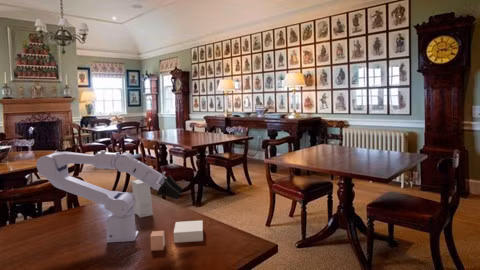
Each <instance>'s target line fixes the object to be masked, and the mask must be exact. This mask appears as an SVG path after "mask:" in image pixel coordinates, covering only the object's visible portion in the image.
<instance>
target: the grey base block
mask: <svg viewBox="0 0 480 270" xmlns="http://www.w3.org/2000/svg"><path fill="white" fill-rule="evenodd" d="M203 223H204V222H203V220H187V221H185V220H184V221H175V224H174V229H173V243H174V244H175V243H176V244H178V243H188V242H190V243H191V242H203V241H204V231H203V230H204V227H203V225H204V224H203Z"/></svg>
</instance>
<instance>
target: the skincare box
mask: <svg viewBox="0 0 480 270" xmlns="http://www.w3.org/2000/svg"><path fill="white" fill-rule="evenodd" d="M131 188H132V194H133V195H134V197H135V204H134V206H133V210H134V214H135V215H137V216H138V217H139V218H144V217H150V216H153V215H154V213H153V211H154V210H153V201H152V192H151V191H152V190H151V186H149V185H147V184H146V183H144V182H142V181H140V180H139V179H134V180H131Z"/></svg>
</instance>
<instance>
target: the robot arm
mask: <svg viewBox="0 0 480 270" xmlns="http://www.w3.org/2000/svg"><path fill="white" fill-rule="evenodd" d="M69 164H75V165H76V164H77V165H78V164H79V165H93V166H94V167H95V168H96V169H106V170H107V169H108V170H117V171H118V172H120V173H124V172H125V173H126V174H129V175H130V176H132V177H133V178H135V179H136V180H140V181H142V182H144V183H146V184H147V185H149V186H150V188H152V189H153V190H156V191H157V192H156V195H157V196H164V197H168V198H172V199H175V200H179V198H180V196H181V194H182V192H183V189H184V188H182V187H181V186H180V185H179V184H178V183H177V182H176V181H175V180H174V179H173V177H172V176H171V175H170V174H169V175H168V176H165V174H166V173H167V172H166V171H163V172H162V173H161V172H159V171H157V170H156V169H154V168H152V167H151V166H149V165H148V164H146V163H144V162H142V161H140V160H138V159H137V158H135V156H134V155H133V153H130V152H127V151H124V152H122V153H121V152H120V151H116V152H107V151H106V150H100V151H97V152H96V153H95V154H89V153H81V152H72V151H54V152H51V153H50V154H47V155H43V156H40V157H39V158H38V159H37V160H36V163H35V165H36V169H37V172H38V175H40V176H42V177H44V178H45V179H46V180H47V181H48V182H50V184H51V185H52V186H53V187H54V188H57V189H59V190H62V191H65V192H67V193H70V194H72V195H76V196H77V197H81V198H84V199H86V200H89V201H92V202H94V203H97V204H99V205H102V206H103V207H104V209H105V210H106V211H108V212H110V213H111V214H108V215H107V217H106V224H105V225H106V239H107V240H106V243H118V242H119V243H120V242H121V243H123V242H124V243H125V242H134V241H136V239H137V236H138V235H139V233H140V232H139V231H138V230H136V214H135V211H134V204H135V197H134V195H133V193H131V192H130V191H128V192H127V191H126V192H125V191H124V192H122V191H118V190H112V191H111V190H109V189H106V188H103V187H101V186H98V185H95V184H93V183H89V182H87V181H85V180H82V179H79V178H76V177H74V176H70V174H69V168H68V167H69V166H68V165H69Z"/></svg>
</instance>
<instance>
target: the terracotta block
mask: <svg viewBox="0 0 480 270" xmlns="http://www.w3.org/2000/svg"><path fill="white" fill-rule="evenodd" d="M165 239H166V238H165V230H156V231H153V230H152V231H151V234H150V250H151V251H164V249H165V245H166V244H165V243H166V241H165Z"/></svg>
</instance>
